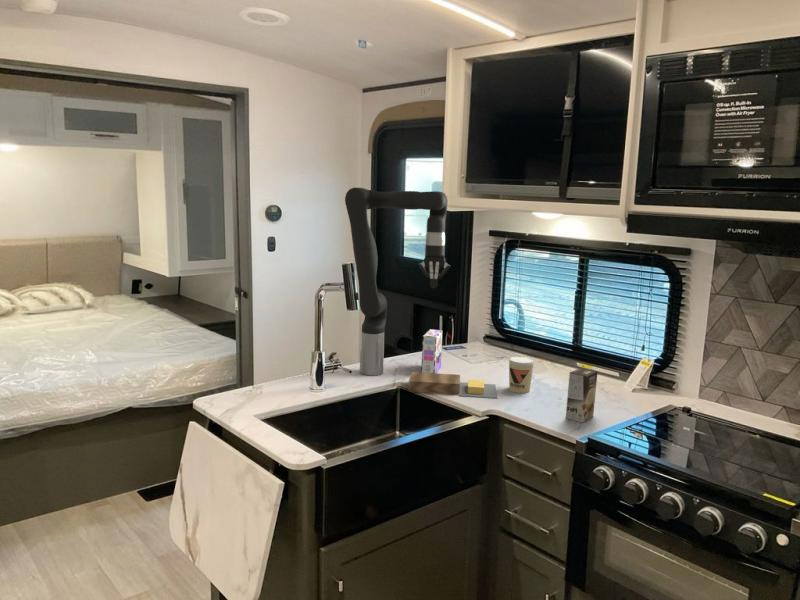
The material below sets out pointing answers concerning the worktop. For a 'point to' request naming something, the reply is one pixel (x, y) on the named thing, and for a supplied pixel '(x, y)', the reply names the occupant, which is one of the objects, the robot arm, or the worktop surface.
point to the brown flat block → (434, 383)
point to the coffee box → (581, 394)
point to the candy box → (431, 351)
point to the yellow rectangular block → (476, 386)
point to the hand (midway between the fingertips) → (433, 288)
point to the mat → (488, 393)
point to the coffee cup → (520, 374)
